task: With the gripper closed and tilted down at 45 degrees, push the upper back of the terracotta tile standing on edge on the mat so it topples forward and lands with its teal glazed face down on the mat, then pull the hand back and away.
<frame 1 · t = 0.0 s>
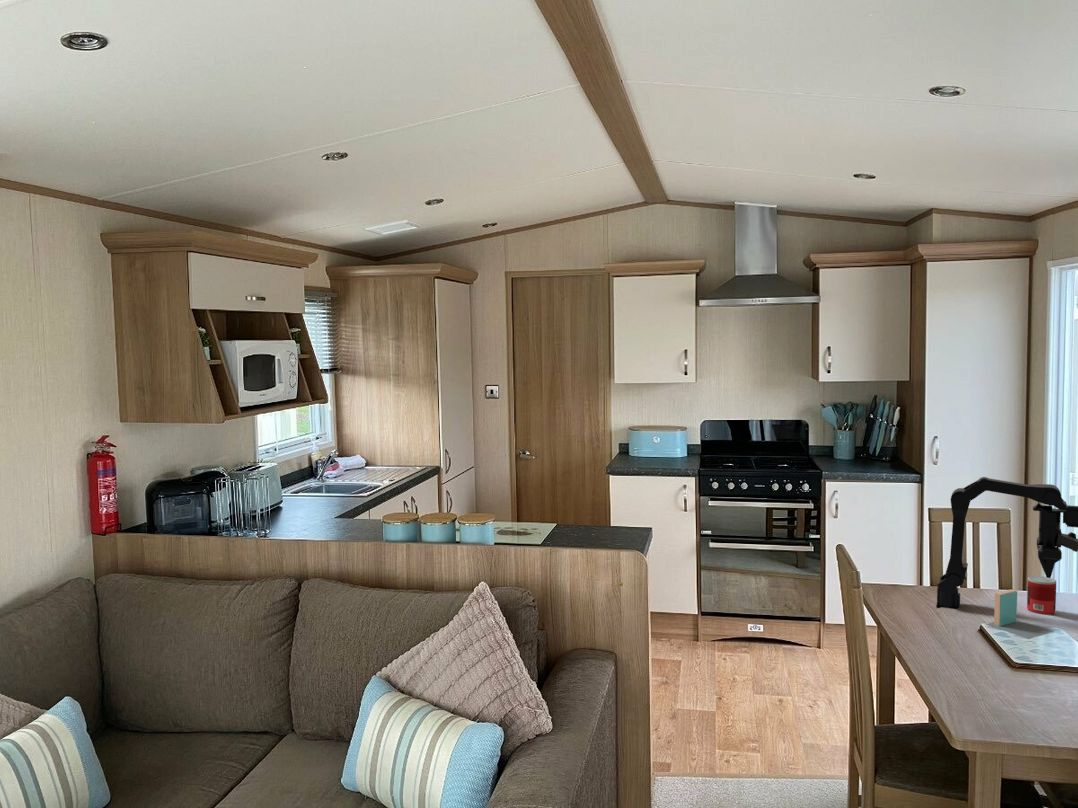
hand: (1048, 573, 265), 15 cm above the table, tool pointing down, fingers open, 9 cm apart
mat: (1019, 629, 258), on the table
canned food: (1041, 612, 273), on the table
tile: (1005, 623, 262), resting on mat
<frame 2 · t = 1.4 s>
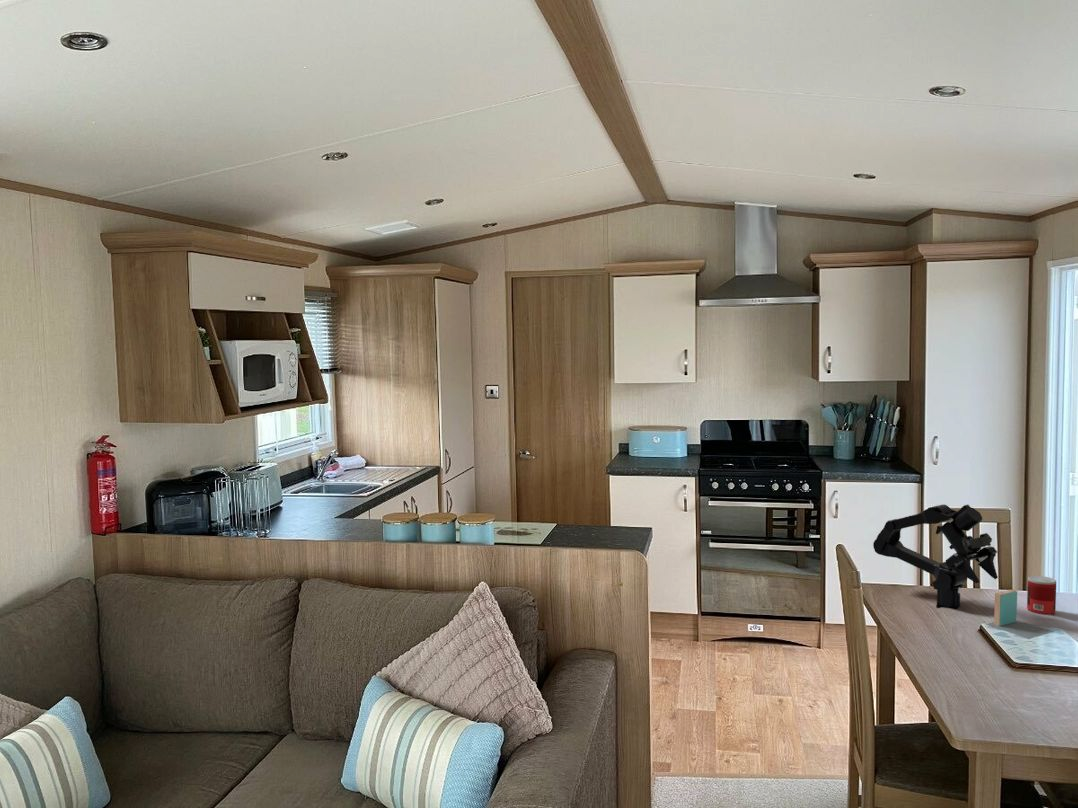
hand: (987, 580, 267), 12 cm above the table, tool tilted 45°, fingers open, 9 cm apart
nothing on the table moved.
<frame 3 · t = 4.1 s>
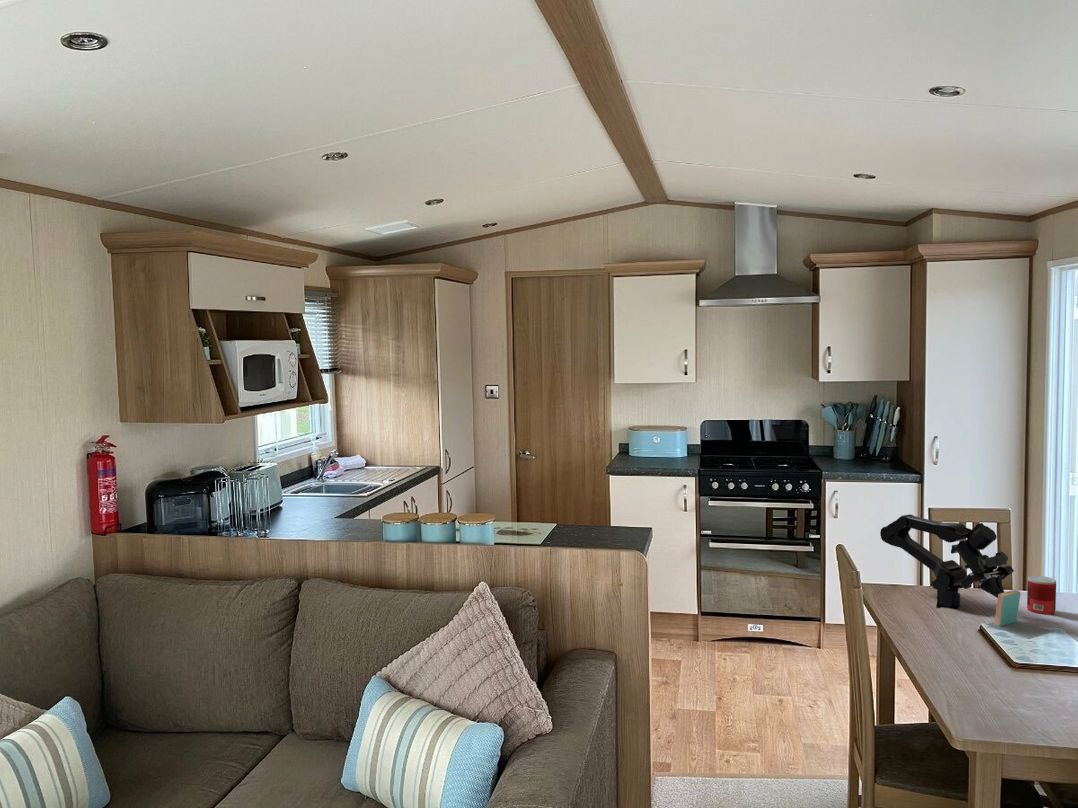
hand: (1004, 600, 262), 8 cm above the table, tool tilted 45°, fingers closed, pressing on tile
tile: (1005, 623, 262), point 1 cm above the table, tilted 6°, touching gripper, mat
everything else where it was.
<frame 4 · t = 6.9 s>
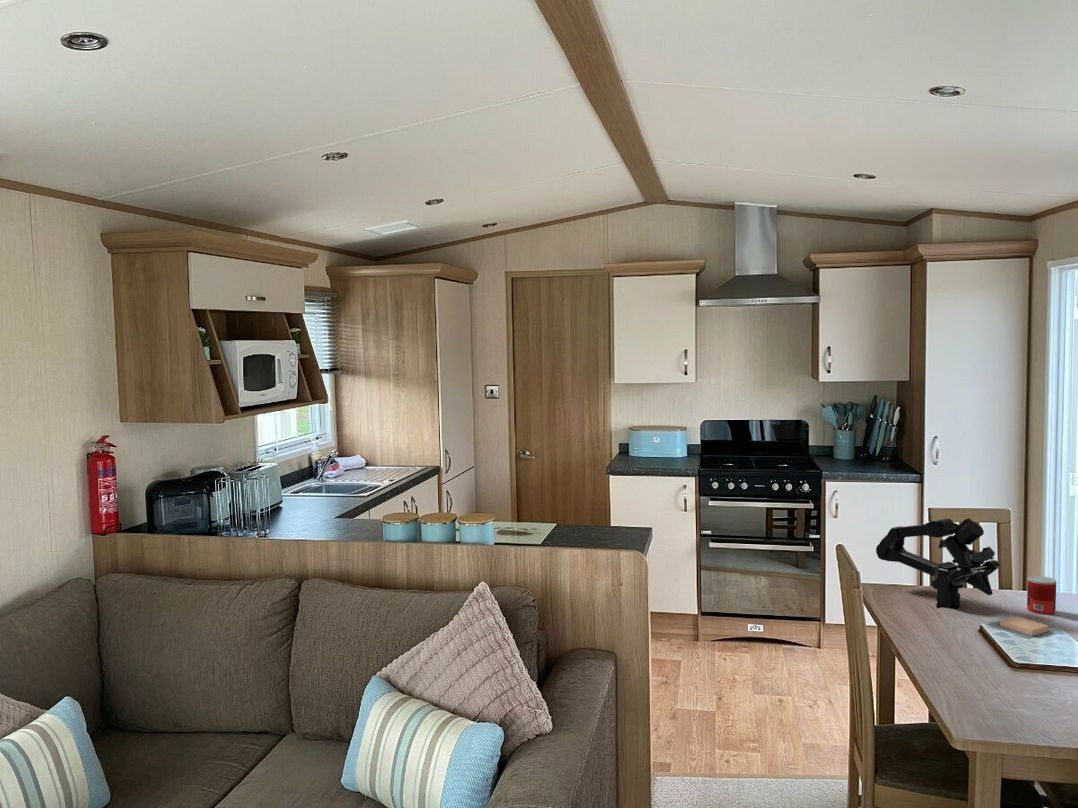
hand: (991, 594, 266), 8 cm above the table, tool tilted 45°, fingers closed
tile: (1008, 621, 261), point 1 cm above the table, tilted 90°, touching mat
everything else where it was.
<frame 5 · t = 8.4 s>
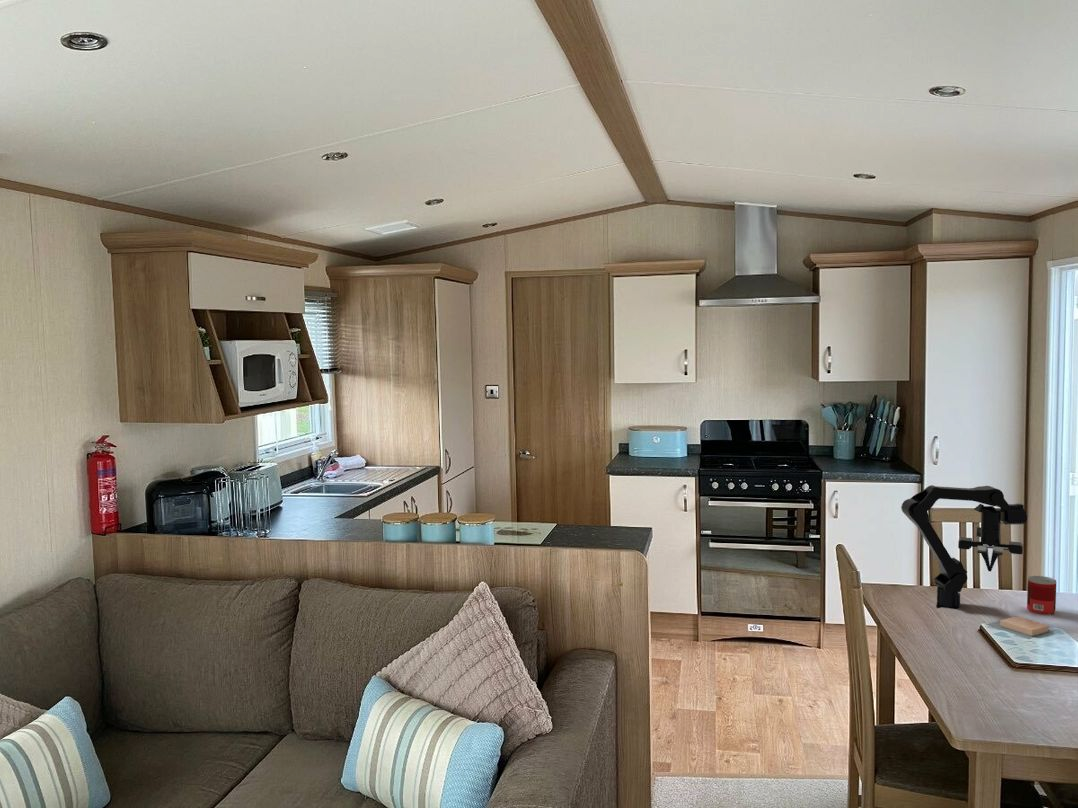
hand: (989, 571, 279), 12 cm above the table, tool pointing down, fingers closed
nothing on the table moved.
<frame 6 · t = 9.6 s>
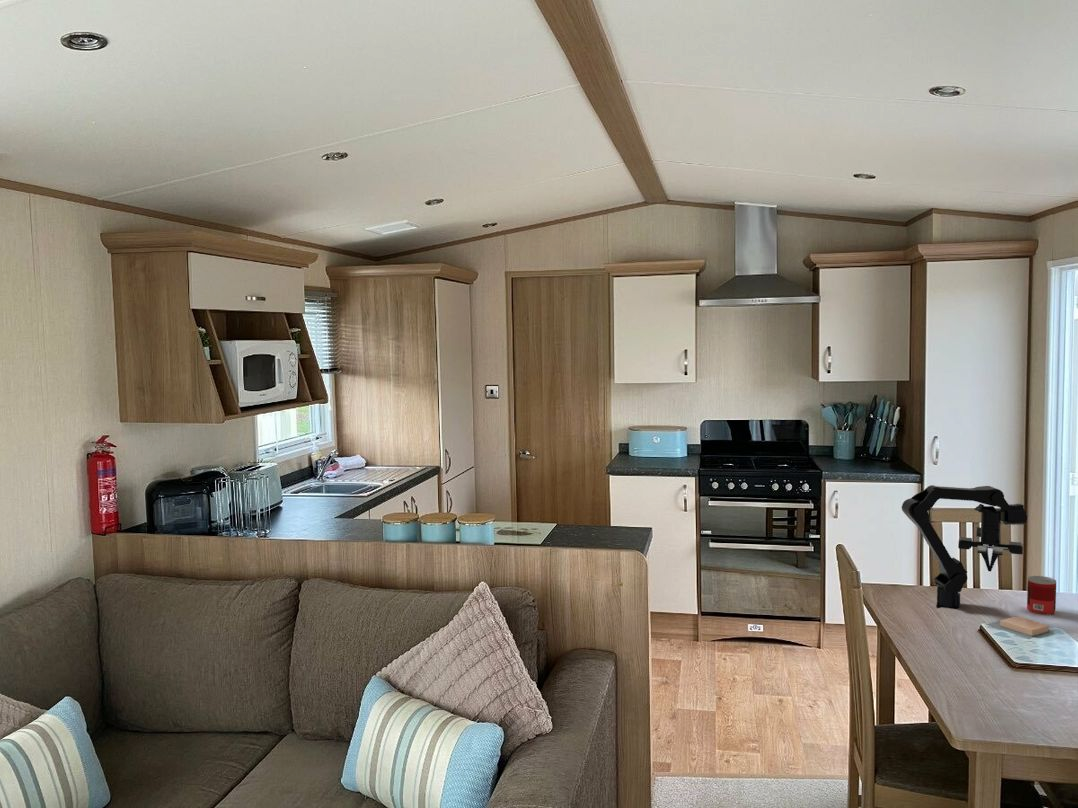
hand: (989, 571, 279), 12 cm above the table, tool pointing down, fingers closed
nothing on the table moved.
at the end: tile tilted 90°; tile inside the target area (4.6 cm from its centre), point 1.5 cm above the table; the gripper is holding nothing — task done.
